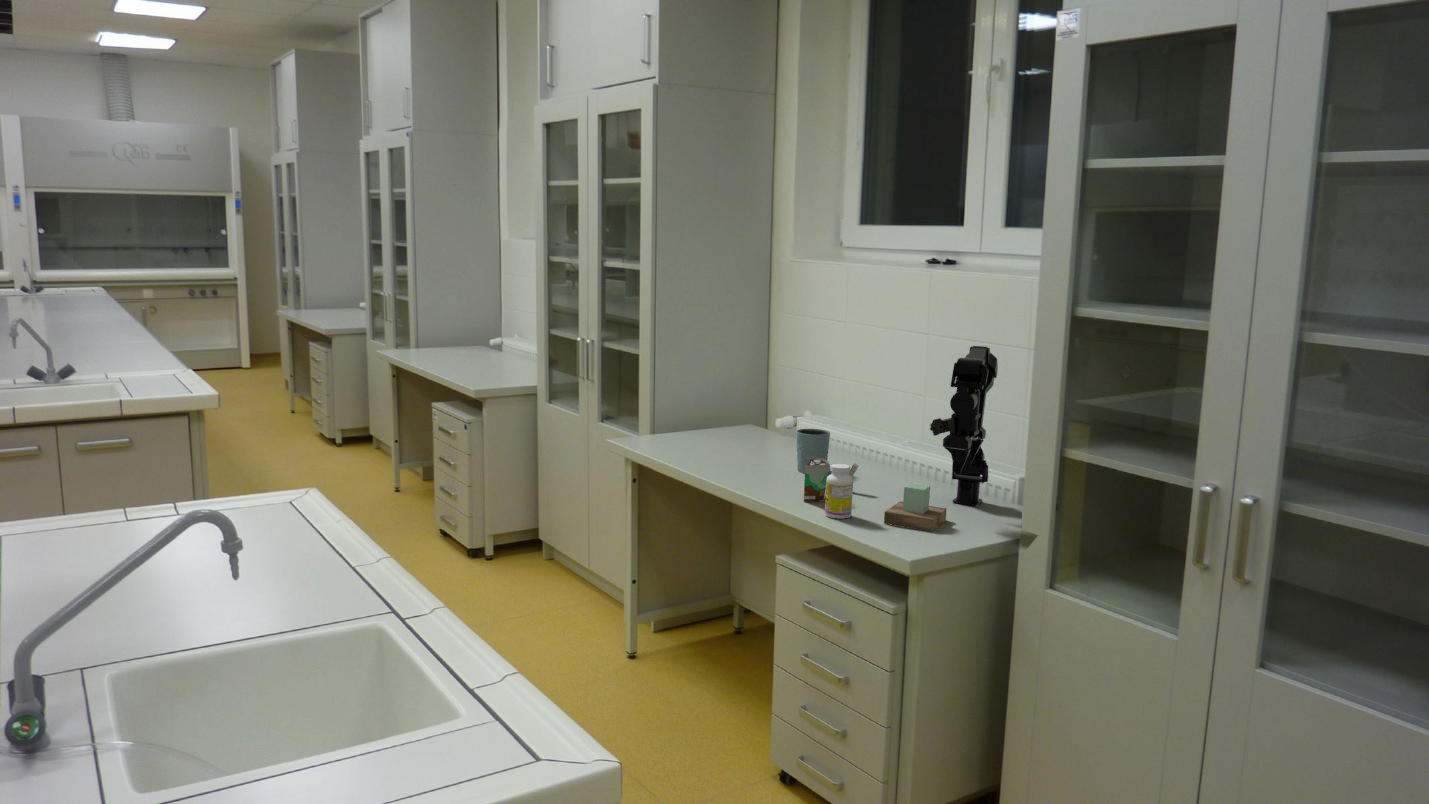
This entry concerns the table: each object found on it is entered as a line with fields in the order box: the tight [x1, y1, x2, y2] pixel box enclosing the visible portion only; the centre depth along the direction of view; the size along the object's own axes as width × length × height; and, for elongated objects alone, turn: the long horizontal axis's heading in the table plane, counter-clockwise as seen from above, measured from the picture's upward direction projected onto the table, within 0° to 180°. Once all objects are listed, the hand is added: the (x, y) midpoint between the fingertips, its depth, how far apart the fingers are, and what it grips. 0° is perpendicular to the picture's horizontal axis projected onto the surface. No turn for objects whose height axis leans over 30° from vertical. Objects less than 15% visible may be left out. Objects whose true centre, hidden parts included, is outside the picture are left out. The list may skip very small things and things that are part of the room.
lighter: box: [849, 462, 860, 478], centre depth 278 cm, size 7×2×8 cm, turn 69°
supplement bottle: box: [824, 463, 854, 520], centre depth 252 cm, size 7×7×13 cm
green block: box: [902, 482, 931, 514], centre depth 249 cm, size 5×5×6 cm
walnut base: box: [883, 500, 948, 532], centre depth 250 cm, size 12×12×3 cm
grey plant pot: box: [795, 428, 831, 474], centre depth 300 cm, size 10×10×12 cm
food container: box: [803, 457, 831, 503], centre depth 269 cm, size 12×6×10 cm, turn 168°
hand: (962, 470), depth 254 cm, fingers open, 9 cm apart
